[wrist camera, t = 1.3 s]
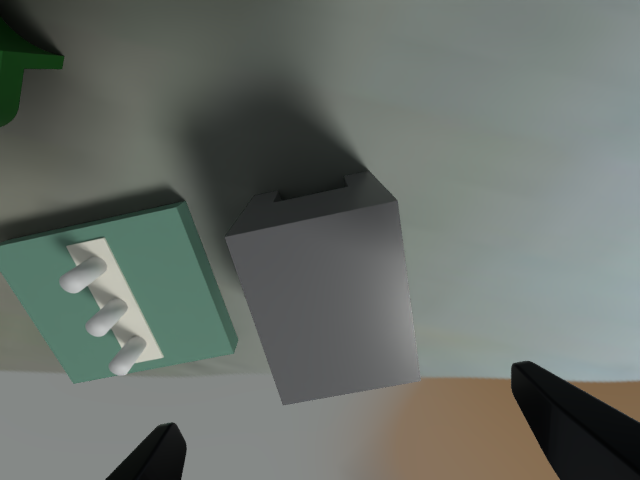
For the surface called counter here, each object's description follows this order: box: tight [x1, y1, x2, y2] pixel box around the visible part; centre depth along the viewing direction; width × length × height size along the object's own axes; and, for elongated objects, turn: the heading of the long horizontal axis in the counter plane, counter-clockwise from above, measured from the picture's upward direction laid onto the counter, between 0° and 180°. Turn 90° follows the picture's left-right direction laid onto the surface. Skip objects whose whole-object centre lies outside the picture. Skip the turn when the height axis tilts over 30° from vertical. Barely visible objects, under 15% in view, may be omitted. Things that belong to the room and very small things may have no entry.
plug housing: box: [225, 171, 421, 405], centre depth 15 cm, size 6×8×6 cm
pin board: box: [0, 201, 238, 384], centre depth 17 cm, size 10×9×3 cm
